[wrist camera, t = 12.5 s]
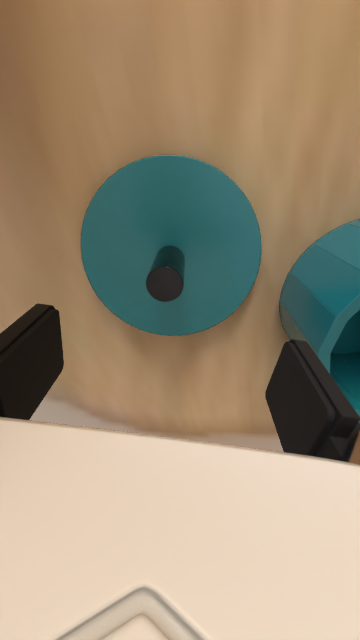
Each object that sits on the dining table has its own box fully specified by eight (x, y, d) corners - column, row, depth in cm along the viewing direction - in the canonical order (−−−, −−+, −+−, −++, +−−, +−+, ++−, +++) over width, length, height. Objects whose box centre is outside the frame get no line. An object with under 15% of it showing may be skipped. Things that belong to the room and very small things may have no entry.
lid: (87, 318, 26) (57, 360, 20) (82, 139, 19) (33, 123, 13) (234, 338, 26) (246, 385, 20) (282, 173, 19) (323, 173, 13)
